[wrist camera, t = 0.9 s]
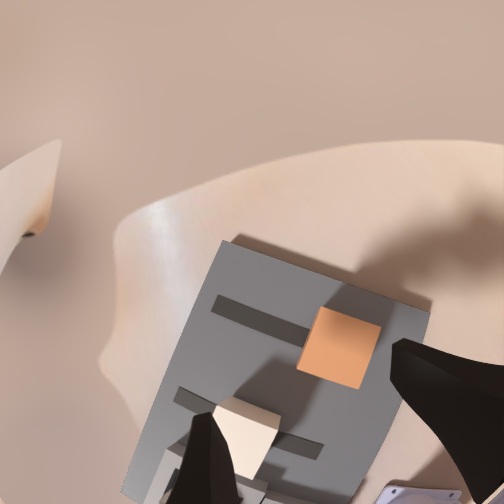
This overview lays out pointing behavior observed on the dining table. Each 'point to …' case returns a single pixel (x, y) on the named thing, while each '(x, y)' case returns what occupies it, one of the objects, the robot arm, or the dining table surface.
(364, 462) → the panel
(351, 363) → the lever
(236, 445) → the lever middle
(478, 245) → the dining table surface
